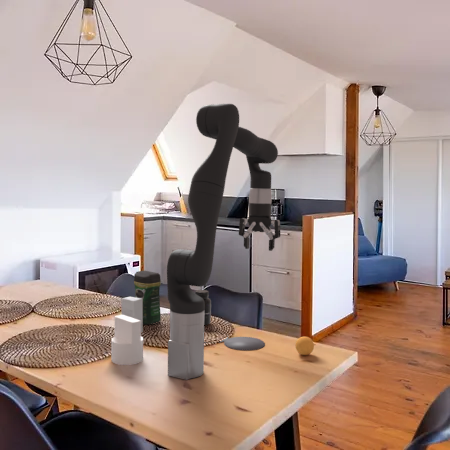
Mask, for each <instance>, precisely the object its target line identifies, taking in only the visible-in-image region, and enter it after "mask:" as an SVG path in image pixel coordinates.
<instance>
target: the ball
mask: <svg viewBox="0 0 450 450" xmlns="http://www.w3.org/2000/svg"><path fill="white" fill-rule="evenodd" d="M314 348H315V343H314V341H313V339H312V338H310V337H309V336H301V337H298V338H297V340H296V341H295V350H296V351H297V353H299V355H301V356H309V355H311V353H313V351H314Z"/></svg>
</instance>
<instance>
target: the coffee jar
mask: <svg viewBox="0 0 450 450" xmlns="http://www.w3.org/2000/svg"><path fill="white" fill-rule="evenodd" d="M133 284H134V297H135V298H141V299H143V325H154V324H153V323H156V322H158V323H159V321H160V322H161V320H162V319H161V317H162V316H161V300H160V298H161V297H160V295H161V294H160V288H161V285H162V278H161V274H159V272H154V271H150V270H149V271H148V270H139V271H136V272H135V273H134V278H133ZM156 324H157V323H156Z"/></svg>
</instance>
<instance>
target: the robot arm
mask: <svg viewBox="0 0 450 450" xmlns="http://www.w3.org/2000/svg"><path fill="white" fill-rule="evenodd" d="M239 112H240V111H239V109H238V107H237V106H236V105H235V104H233V103H212V104H206V105H203V106H202V107H200V108H199V109H198V110H197V113H196V119H195V121H196V122H195V123H196V127H197V130H198V131H199V133H200V134H201V135H202V136H203V137H207V138H209V139H213V140H215V144H214V146H213V148H212V150H211V152H210V153H209V155H207V157H206V158H205V160H203V162H202V163H201V164H200V165H199V167H198V168H197V170H196V171H195V173H194V174H193V175H192V178H191V183H190V186H189V190H188V191H189V192H188V196H187V202H188V203H187V204H188V208H189V211H190V214H191V217H192V219H193V221H194V225H195V228H196V245H195V250H193V249H192V250H191V249H182V248H181V249H180V248H179V249H178V248H177V249H175V250H173V251H172V252H171V253H170V254H169V257H168V260H167V263H166V282H167V283H166V285H167V300H168V303H169V340H168V342H167V376H169V377H173V378H178V379H182V380H186V381H188V380H190V379H194V378H198V377H200V376H202V375H203V374H204V372H205V371H204V369H205V368H204V367H205V366H204V365H205V361H204V360H205V342H204V332H205V326H204V311H205V302H204V300H203V298H201V297H200V296H198V295H197V294H195V292H194V291H193V289H192V288H191V286H192V287H204V286H206V284H208V282H209V280H210V278H211V275H212V269H213V265H214V263H213V262H214V254H215V244H216V236H217V235H216V234H217V228H218V222H219V218H220V212H221V206H222V203H223V198H224V192H225V187H226V186H225V185H226V180H227V174H228V171H229V170H228V169H229V165H230V159H231V156H232V152H233V150H234V149H236V150H237V151H239V152H240V153H242V154H243V155H245V156H246V157H245V158H246V161H247V165H248V171H249V175H250V181H249V182H250V183H249V184H250V186H249V187H250V189H249V196H248V217H247V218H245V217H242V218H240V219H239V223H238V224H239V225H238V235H239V236H240V237H242V238H243V247H244V248H245V249H246V250H249V249H250V242H251V241H250V237H251V235H252V233H265V235H267V237H268V238H269V239H268V251H269V252H272V251H273V250H274V249H275V240H276V239H279V238H281V221H280V219H276V220H275V219H274V220H273V219H272V201H273V198H272V197H273V195H272V174H271V172H270V171H267V170H263V169H261V167H260V164H262V165H263V164H265V165H266V164H268V165H269V164H273V163H274V162H275V161H276V160H277V159H278V156H279V151H278V148H277V146H276V144H275V143H274V142H273V141H271V140H269V139H266V138H262V137H259V136H258V135H256V134H255V133H254V132H253V131H251V130H249V129H247V128H244V127H241V126H240V113H239ZM233 148H234V149H233ZM247 224H248V225H249V227H248V229H246V225H247ZM271 225H272V227H274V233H273V230H272V229H271Z"/></svg>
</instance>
